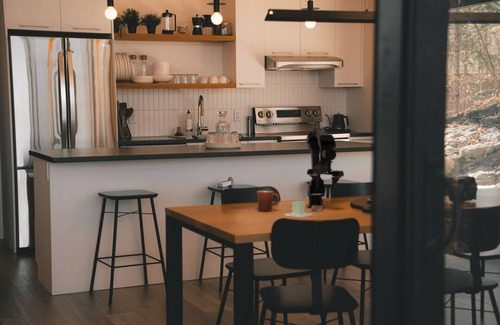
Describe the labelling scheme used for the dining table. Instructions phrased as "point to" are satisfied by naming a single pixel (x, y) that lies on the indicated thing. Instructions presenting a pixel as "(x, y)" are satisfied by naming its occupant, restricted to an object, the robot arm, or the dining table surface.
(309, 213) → the trivet
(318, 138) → the robot arm
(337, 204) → the dining table surface
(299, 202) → the sage block
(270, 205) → the mug
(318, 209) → the walnut block
